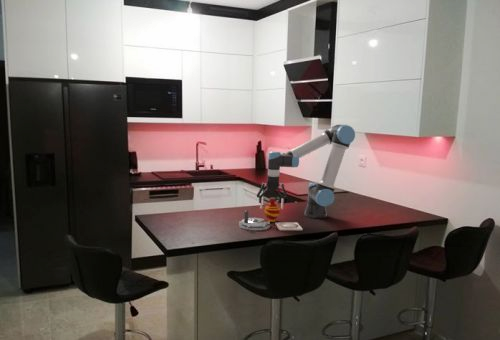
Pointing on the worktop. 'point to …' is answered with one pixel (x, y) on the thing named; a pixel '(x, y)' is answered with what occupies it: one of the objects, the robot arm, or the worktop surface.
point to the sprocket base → (254, 228)
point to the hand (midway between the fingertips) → (271, 208)
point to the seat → (288, 226)
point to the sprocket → (253, 221)
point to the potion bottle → (272, 210)
